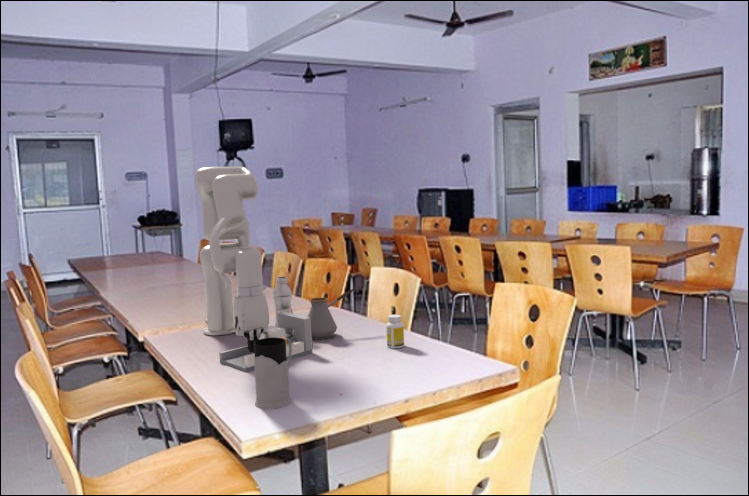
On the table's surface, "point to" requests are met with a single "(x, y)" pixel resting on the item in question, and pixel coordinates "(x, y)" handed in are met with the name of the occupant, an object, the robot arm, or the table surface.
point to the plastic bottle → (282, 297)
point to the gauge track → (299, 342)
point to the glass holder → (272, 373)
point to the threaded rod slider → (276, 333)
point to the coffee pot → (323, 317)
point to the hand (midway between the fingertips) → (253, 351)
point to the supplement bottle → (395, 332)
